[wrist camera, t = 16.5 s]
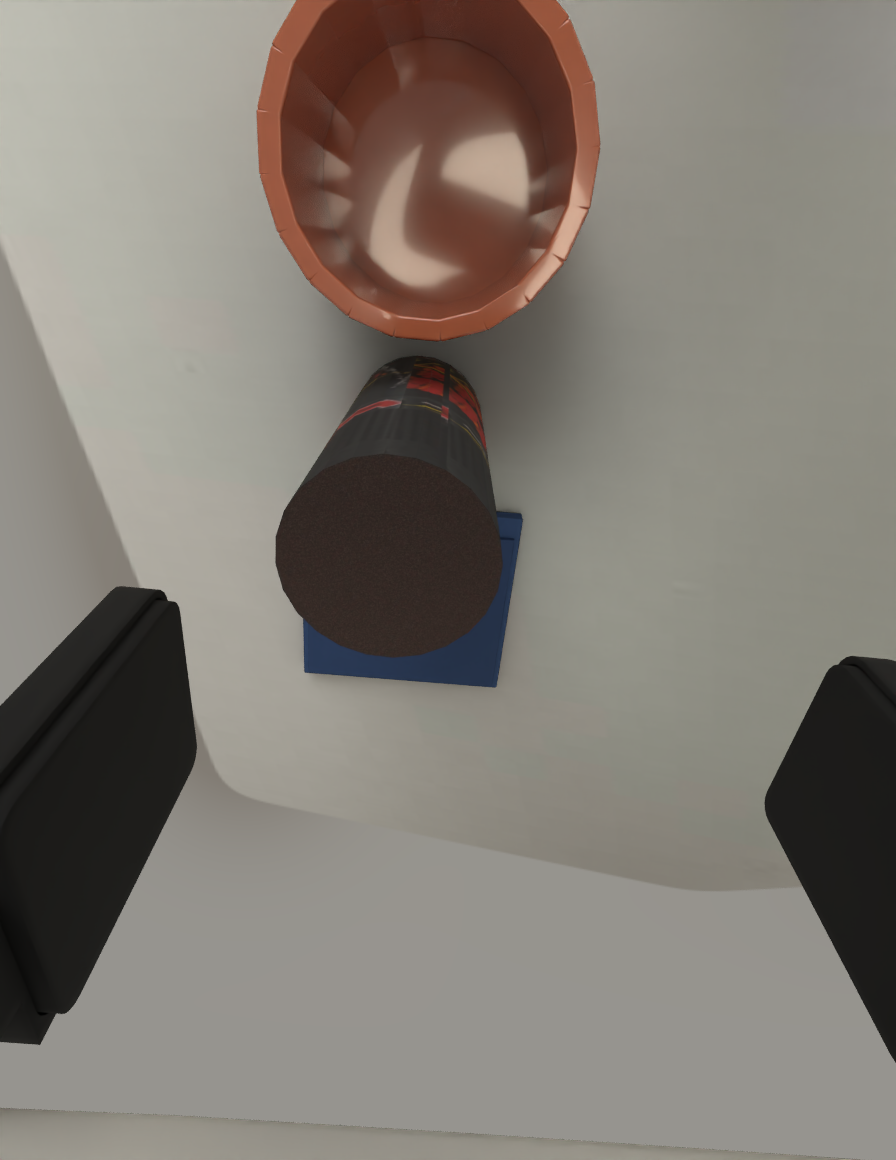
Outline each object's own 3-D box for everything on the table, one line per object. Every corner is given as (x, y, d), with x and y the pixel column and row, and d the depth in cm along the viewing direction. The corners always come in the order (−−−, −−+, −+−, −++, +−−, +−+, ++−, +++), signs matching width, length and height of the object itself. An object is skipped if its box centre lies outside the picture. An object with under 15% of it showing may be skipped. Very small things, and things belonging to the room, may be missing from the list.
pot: (308, 4, 23) (246, -96, 16) (582, 36, 23) (634, -49, 16) (311, 305, 27) (265, 324, 21) (539, 328, 28) (565, 354, 21)
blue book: (303, 493, 31) (298, 501, 30) (521, 513, 32) (523, 521, 31) (307, 664, 36) (303, 675, 35) (495, 679, 37) (496, 691, 36)
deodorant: (479, 481, 31) (498, 658, 18) (359, 481, 31) (288, 656, 18) (483, 355, 28) (508, 454, 15) (351, 355, 28) (260, 452, 15)
